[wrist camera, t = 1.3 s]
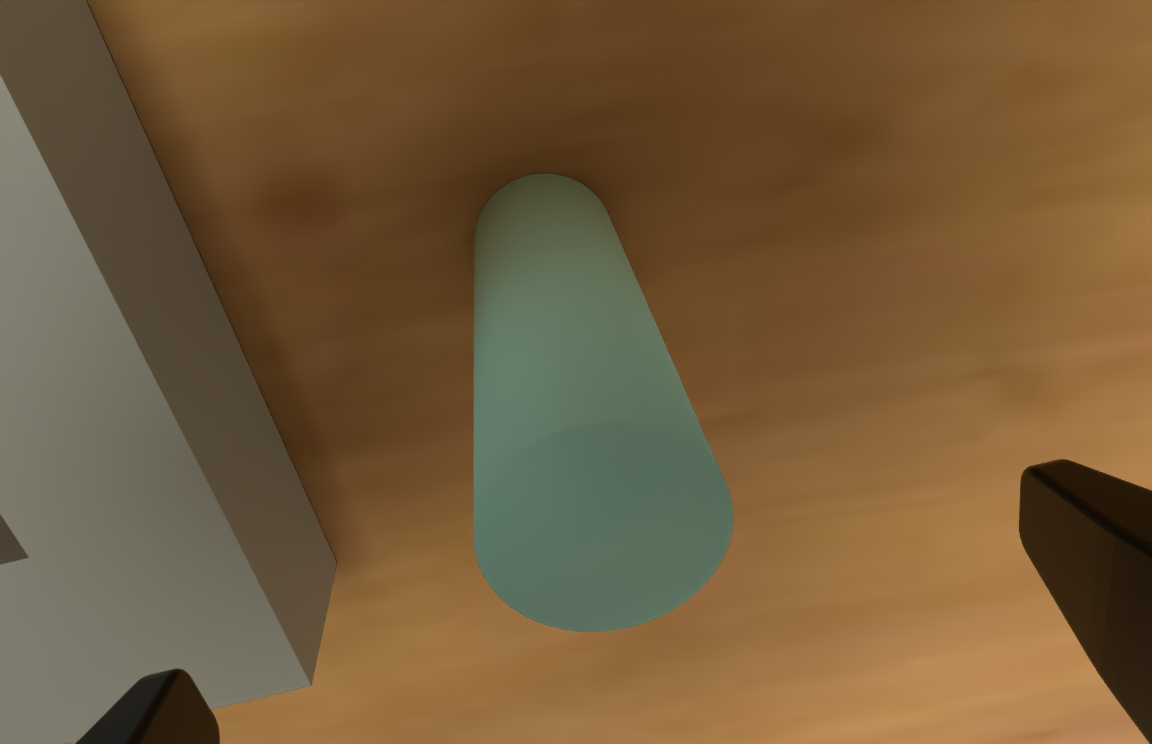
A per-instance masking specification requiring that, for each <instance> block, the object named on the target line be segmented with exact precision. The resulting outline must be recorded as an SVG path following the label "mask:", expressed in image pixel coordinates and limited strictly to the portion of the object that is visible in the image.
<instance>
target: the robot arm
mask: <svg viewBox="0 0 1152 744" xmlns="http://www.w3.org/2000/svg"><path fill="white" fill-rule="evenodd" d="M1019 533H1020V538H1021V541H1022V544H1023V547H1024V549H1025V551H1026V553H1027V554H1028V556H1029V558H1030V560H1031V561H1032V563H1033V565H1034V566H1035V568H1036V570H1037V571H1038V573H1039V575H1040V577H1041V578H1042V580H1043V582H1044V583H1045V585H1046V587H1047V588H1048V590H1049V592H1050V593H1051V595H1052V597H1053V599H1054V600H1055V602H1056V604H1057V605H1058V607H1059V609H1060V610H1061V612H1062V614H1063V615H1064V617H1065V619H1066V621H1067V622H1068V624H1069V626H1070V627H1071V629H1072V631H1073V632H1074V634H1075V636H1076V637H1077V639H1078V641H1079V643H1080V644H1081V646H1082V648H1083V649H1084V651H1085V653H1086V654H1087V656H1088V658H1089V659H1090V661H1091V662H1092V664H1093V666H1094V667H1095V669H1096V670H1097V672H1098V674H1099V675H1100V677H1101V678H1102V679H1103V681H1104V682H1105V684H1106V685H1107V686H1108V688H1109V689H1110V691H1111V692H1112V693H1113V695H1114V696H1115V698H1116V699H1117V700H1118V702H1119V703H1120V704H1121V706H1122V707H1123V708H1124V710H1125V711H1126V712H1127V714H1128V715H1129V716H1130V718H1131V719H1132V721H1133V722H1134V723H1135V725H1136V726H1137V727H1138V729H1139V730H1140V731H1141V733H1142V734H1143V735H1144V737H1145V738H1146V739H1147V741H1148V742H1149V743H1150V744H1152V491H1151V490H1149V489H1146V488H1143V487H1141V486H1138V485H1135V484H1132V483H1130V482H1127V481H1124V480H1122V479H1119V478H1116V477H1113V476H1111V475H1108V474H1105V473H1103V472H1100V471H1097V470H1094V469H1092V468H1089V467H1086V466H1084V465H1081V464H1078V463H1076V462H1073V461H1069V460H1065V459H1059V460H1054V461H1050V462H1045V463H1041V464H1037V465H1033V466H1030V467H1028V468H1026V469H1025V470H1024V471H1023V474H1022V476H1021V484H1020V509H1019ZM76 744H220V735H219V727H218V724H217V721H216V718H215V716H214V714H213V713H212V711H211V709H210V708H209V706H208V704H207V703H206V701H205V699H204V698H203V696H202V694H201V693H200V691H199V689H198V687H197V686H196V684H195V682H194V681H193V679H192V677H191V676H190V675H189V673H187V672H186V671H185V670H183V669H171V670H167V671H162V672H158V673H154V674H150V675H147V676H144V677H142V678H141V679H139V680H138V681H137V682H136V683H135V684H134V685H133V686H132V687H131V688H130V689H129V690H128V691H127V692H126V693H125V694H124V695H123V696H122V697H121V698H120V699H119V700H118V701H117V702H116V703H115V704H114V705H113V706H112V707H111V708H110V709H109V710H108V711H107V712H106V713H105V714H104V715H103V716H102V717H101V718H100V719H99V720H98V721H97V722H96V723H95V724H94V725H93V726H92V727H91V728H90V729H89V730H88V731H87V732H86V733H85V734H84V735H83V736H82V737H81V738H80V740H79V741H78V742H77V743H76Z"/></svg>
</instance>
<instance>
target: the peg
mask: <svg viewBox="0 0 1152 744" xmlns="http://www.w3.org/2000/svg"><path fill="white" fill-rule="evenodd" d="M732 525H733V509H732V501H731V497H730V493H729V490H728V487H727V485H726V483H725V480H724V478H723V476H722V474H721V471H720V469H719V467H718V464H717V462H716V460H715V457H714V455H713V453H712V451H711V448H710V446H709V444H708V441H707V439H706V437H705V435H704V432H703V430H702V428H701V425H700V423H699V421H698V419H697V416H696V414H695V412H694V409H693V407H692V405H691V402H690V400H689V398H688V396H687V393H686V391H685V389H684V386H683V384H682V382H681V380H680V377H679V375H678V373H677V370H676V368H675V366H674V364H673V361H672V359H671V357H670V354H669V352H668V350H667V347H666V345H665V343H664V341H663V338H662V336H661V334H660V331H659V329H658V327H657V325H656V322H655V320H654V318H653V315H652V313H651V311H650V309H649V306H648V304H647V302H646V299H645V297H644V295H643V292H642V290H641V288H640V286H639V283H638V281H637V279H636V276H635V274H634V272H633V270H632V267H631V265H630V263H629V260H628V258H627V256H626V254H625V251H624V249H623V247H622V244H621V242H620V240H619V238H618V235H617V233H616V231H615V228H614V226H613V224H612V221H611V219H610V217H609V215H608V212H607V210H606V208H605V207H604V205H603V203H602V202H601V201H600V199H599V198H598V197H597V196H596V195H595V194H594V193H593V192H592V191H591V190H590V189H589V188H587V187H586V186H585V185H583V184H582V183H580V182H578V181H576V180H574V179H571V178H569V177H566V176H562V175H557V174H548V173H544V174H533V175H528V176H524V177H521V178H518V179H516V180H514V181H512V182H510V183H508V184H506V185H505V186H503V187H502V188H501V189H499V190H498V191H497V192H496V193H495V194H494V195H493V196H492V197H491V198H490V199H489V200H488V202H487V203H486V204H485V206H484V207H483V209H482V211H481V213H480V215H479V218H478V220H477V223H476V227H475V232H474V548H475V554H476V557H477V561H478V565H479V567H480V569H481V571H482V574H483V576H484V578H485V579H486V581H487V582H488V584H489V585H490V587H491V588H492V589H493V591H494V592H495V593H496V594H497V595H498V596H499V597H500V598H501V599H502V600H503V601H504V602H505V603H507V604H508V605H509V606H510V607H511V608H513V609H514V610H516V611H518V612H519V613H521V614H522V615H524V616H526V617H528V618H530V619H532V620H534V621H536V622H539V623H542V624H545V625H548V626H551V627H556V628H560V629H564V630H572V631H581V632H600V631H612V630H618V629H623V628H628V627H632V626H635V625H639V624H642V623H645V622H648V621H650V620H653V619H655V618H658V617H660V616H662V615H664V614H666V613H668V612H670V611H672V610H673V609H675V608H676V607H678V606H679V605H681V604H682V603H684V602H685V601H687V600H688V599H689V598H690V597H692V596H693V595H694V594H695V593H696V592H698V591H699V589H700V588H701V587H702V586H703V585H704V584H705V583H706V582H707V581H708V580H709V579H710V577H711V576H712V575H713V573H714V572H715V571H716V569H717V568H718V566H719V564H720V562H721V561H722V559H723V557H724V555H725V552H726V550H727V547H728V545H729V541H730V537H731V533H732Z"/></svg>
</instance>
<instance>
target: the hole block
mask: <svg viewBox="0 0 1152 744" xmlns="http://www.w3.org/2000/svg"><path fill="white" fill-rule="evenodd" d="M336 565H337V562H336V560H335V557H334V555H333V553H332V551H331V548H330V546H329V544H328V542H327V539H326V537H325V535H324V533H323V530H322V528H321V526H320V524H319V522H318V519H317V517H316V515H315V513H314V510H313V508H312V506H311V504H310V501H309V499H308V497H307V495H306V492H305V490H304V488H303V486H302V483H301V481H300V479H299V477H298V474H297V472H296V470H295V468H294V465H293V463H292V461H291V459H290V457H289V454H288V452H287V450H286V448H285V445H284V443H283V441H282V439H281V436H280V434H279V432H278V430H277V427H276V425H275V423H274V421H273V418H272V416H271V414H270V412H269V409H268V407H267V405H266V403H265V400H264V398H263V396H262V394H261V392H260V389H259V387H258V385H257V383H256V380H255V378H254V376H253V374H252V371H251V369H250V367H249V365H248V362H247V360H246V358H245V356H244V353H243V351H242V349H241V347H240V344H239V342H238V340H237V338H236V335H235V333H234V331H233V329H232V326H231V324H230V322H229V320H228V318H227V315H226V313H225V311H224V309H223V306H222V304H221V302H220V300H219V297H218V295H217V293H216V291H215V288H214V286H213V284H212V282H211V279H210V277H209V275H208V273H207V270H206V268H205V266H204V264H203V261H202V259H201V257H200V255H199V253H198V250H197V248H196V246H195V244H194V241H193V239H192V237H191V235H190V232H189V230H188V228H187V226H186V223H185V221H184V219H183V217H182V214H181V212H180V210H179V208H178V205H177V203H176V201H175V199H174V196H173V194H172V192H171V190H170V187H169V185H168V183H167V181H166V179H165V176H164V174H163V172H162V170H161V167H160V165H159V163H158V161H157V158H156V156H155V154H154V152H153V149H152V147H151V145H150V143H149V140H148V138H147V136H146V134H145V131H144V129H143V127H142V125H141V122H140V120H139V118H138V116H137V114H136V111H135V109H134V107H133V105H132V102H131V100H130V98H129V96H128V93H127V91H126V89H125V87H124V84H123V82H122V80H121V78H120V75H119V73H118V71H117V69H116V66H115V64H114V62H113V60H112V57H111V55H110V53H109V51H108V48H107V46H106V44H105V42H104V40H103V37H102V35H101V33H100V31H99V28H98V26H97V24H96V22H95V19H94V17H93V15H92V13H91V10H90V8H89V6H88V4H87V1H86V0H0V744H66V743H70V742H74V741H79V740H80V738H81V737H82V736H83V735H84V734H85V733H86V732H87V731H88V730H89V729H90V728H91V727H92V726H93V725H94V724H95V723H96V722H97V721H98V720H99V719H100V718H101V717H102V716H103V715H104V714H105V713H106V712H107V711H108V710H109V709H110V708H111V707H112V706H113V705H114V704H115V703H116V702H117V701H118V700H119V699H120V698H121V697H122V696H123V695H124V694H125V693H126V692H127V691H128V690H129V689H130V688H131V687H132V686H133V685H134V684H135V683H136V682H137V681H138V680H139V679H141V678H142V677H144V676H147V675H150V674H154V673H158V672H162V671H167V670H171V669H183V670H185V671H186V672H187V673H189V675H190V676H191V677H192V679H193V681H194V682H195V684H196V686H197V687H198V689H199V691H200V693H201V694H202V696H203V698H204V699H205V701H206V703H207V704H208V706H209V708H210V709H215V708H219V707H224V706H228V705H232V704H236V703H241V702H245V701H249V700H254V699H258V698H262V697H266V696H271V695H275V694H279V693H283V692H288V691H292V690H296V689H300V688H305V687H309V686H311V685H312V681H313V676H314V671H315V666H316V661H317V657H318V652H319V647H320V642H321V637H322V633H323V628H324V623H325V618H326V613H327V609H328V604H329V599H330V594H331V589H332V585H333V580H334V575H335V570H336Z"/></svg>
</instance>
